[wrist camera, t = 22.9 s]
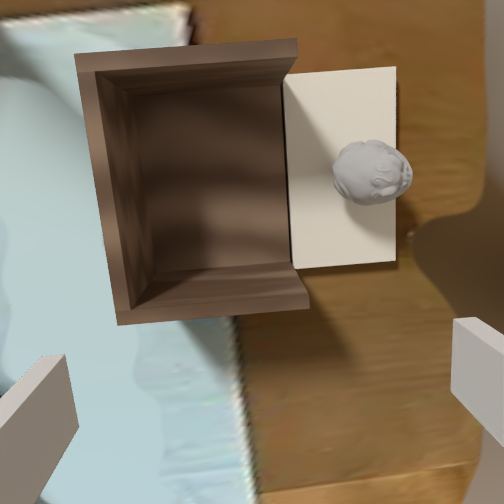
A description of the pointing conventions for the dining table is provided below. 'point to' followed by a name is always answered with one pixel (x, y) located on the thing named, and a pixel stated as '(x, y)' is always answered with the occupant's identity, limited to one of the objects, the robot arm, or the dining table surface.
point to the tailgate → (325, 155)
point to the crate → (192, 178)
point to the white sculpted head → (371, 173)
